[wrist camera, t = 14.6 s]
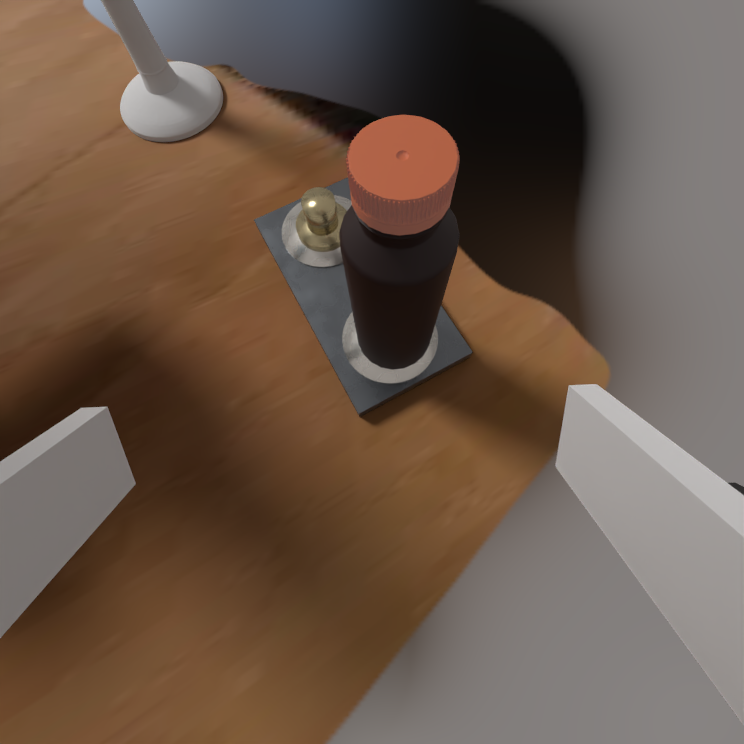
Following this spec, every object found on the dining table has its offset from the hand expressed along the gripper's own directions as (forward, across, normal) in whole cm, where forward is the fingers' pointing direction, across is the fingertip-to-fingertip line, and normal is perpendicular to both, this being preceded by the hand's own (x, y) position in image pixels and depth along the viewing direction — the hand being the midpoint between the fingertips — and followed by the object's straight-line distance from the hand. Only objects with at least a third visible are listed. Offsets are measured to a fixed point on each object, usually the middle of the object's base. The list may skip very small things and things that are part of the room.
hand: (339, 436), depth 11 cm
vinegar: (+24, +3, -5) cm, 25 cm away
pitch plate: (+30, -1, -1) cm, 30 cm away
